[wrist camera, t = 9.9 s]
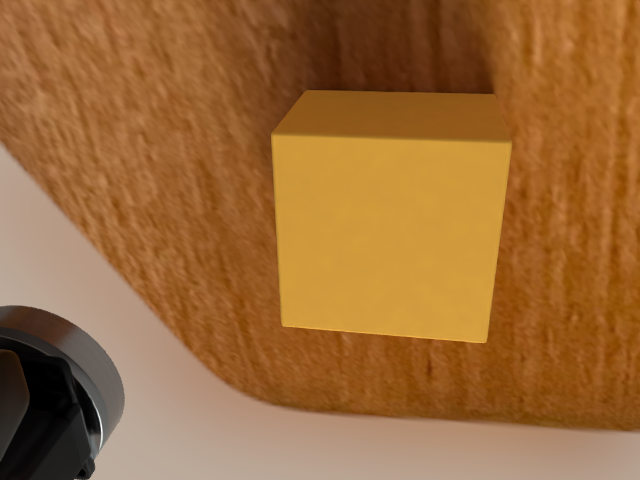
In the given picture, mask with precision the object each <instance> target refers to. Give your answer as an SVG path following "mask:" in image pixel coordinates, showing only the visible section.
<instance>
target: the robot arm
mask: <svg viewBox="0 0 640 480" xmlns="http://www.w3.org/2000/svg"><path fill="white" fill-rule="evenodd" d="M55 368H56V369H57V370H56V369H55ZM94 471H95V463H94V459H93V455H92V450H91V446H90V442H89V438H88V434H87V430H86V426H85V422H84V418H83V414H82V410H81V407H80V403H79V399H78V395H77V391H76V387H75V383H74V379H73V375H72V371H71V367H70V365H69V363H68V362H67V361H66V360H65V359H63V358H61V357H58V356H49V355H39V354H29V353H18V352H12V351H10V350H0V480H74V479H77V480H88V479H89V478H90V477H91V476H92V474H93V472H94Z"/></svg>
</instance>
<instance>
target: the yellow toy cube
mask: <svg viewBox="0 0 640 480" xmlns="http://www.w3.org/2000/svg"><path fill="white" fill-rule="evenodd" d="M271 146H272V165H273V183H274V201H275V220H276V238H277V257H278V275H279V293H280V312H281V324H282V326H286V327H298V328H310V329H322V330H334V331H346V332H358V333H370V334H382V335H394V336H406V337H418V338H429V339H441V340H453V341H465V342H477V343H485V342H486V341H487V336H488V328H489V321H490V313H491V305H492V297H493V290H494V282H495V274H496V266H497V259H498V251H499V243H500V235H501V228H502V220H503V212H504V204H505V197H506V189H507V181H508V173H509V166H510V158H511V150H512V141H511V138H510V135H509V132H508V129H507V127H506V124H505V121H504V118H503V115H502V113H501V110H500V107H499V104H498V102H497V99H496V96H495V95H494V94H468V93H423V92H378V91H333V90H306V91H305V92H304V93H303V94H302V96H301V97H300V98H299V99H298V101H297V102H296V103H295V104H294V106H293V107H292V108H291V109H290V111H289V112H288V113H287V114H286V116H285V117H284V118H283V119H282V120H281V122H280V123H279V124H278V125H277V127H276V128H275V129H274V130H273V132H272V133H271Z"/></svg>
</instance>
